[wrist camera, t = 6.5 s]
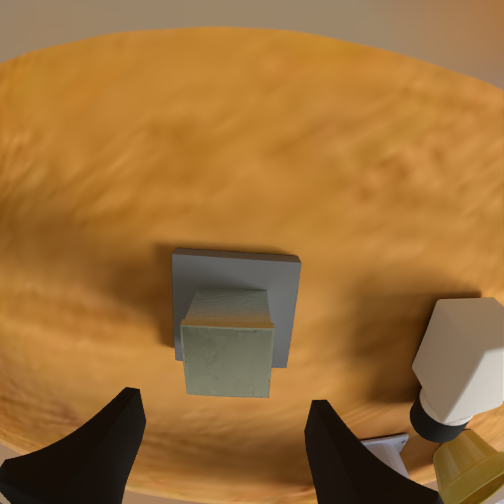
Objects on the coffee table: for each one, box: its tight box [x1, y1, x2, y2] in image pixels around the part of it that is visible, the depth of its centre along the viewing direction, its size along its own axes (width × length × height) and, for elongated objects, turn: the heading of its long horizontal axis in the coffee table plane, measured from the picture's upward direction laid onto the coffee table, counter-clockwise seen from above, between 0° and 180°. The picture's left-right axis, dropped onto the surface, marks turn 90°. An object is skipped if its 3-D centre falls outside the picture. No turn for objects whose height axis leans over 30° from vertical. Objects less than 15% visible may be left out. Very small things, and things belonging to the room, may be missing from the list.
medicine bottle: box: [410, 297, 504, 443], centre depth 20 cm, size 7×7×12 cm
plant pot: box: [433, 430, 504, 504], centre depth 23 cm, size 10×10×10 cm
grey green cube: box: [180, 288, 274, 398], centre depth 18 cm, size 5×5×5 cm
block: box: [172, 248, 301, 368], centre depth 21 cm, size 8×8×2 cm
